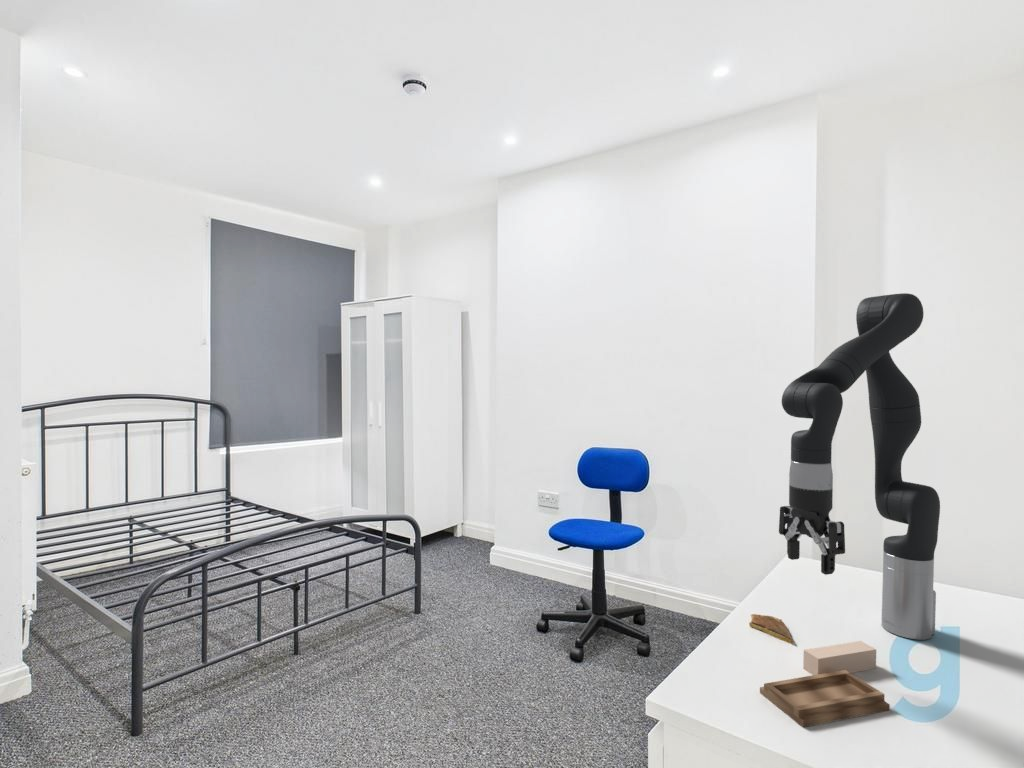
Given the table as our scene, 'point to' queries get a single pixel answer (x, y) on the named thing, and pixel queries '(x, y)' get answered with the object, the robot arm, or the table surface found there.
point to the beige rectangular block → (840, 658)
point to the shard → (771, 626)
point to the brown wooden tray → (825, 697)
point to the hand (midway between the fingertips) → (809, 566)
